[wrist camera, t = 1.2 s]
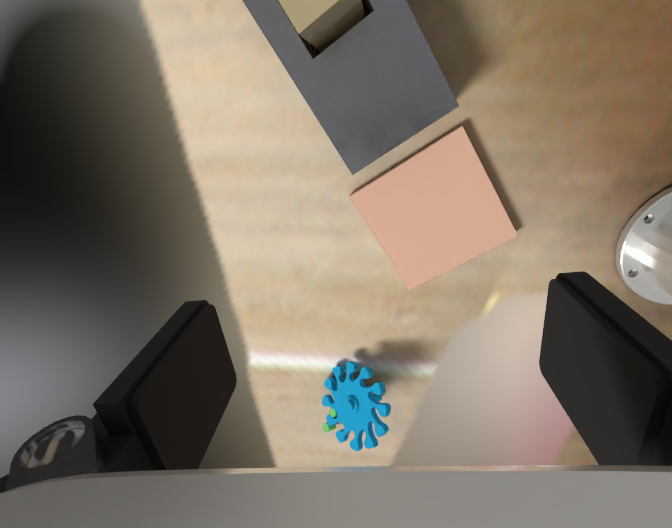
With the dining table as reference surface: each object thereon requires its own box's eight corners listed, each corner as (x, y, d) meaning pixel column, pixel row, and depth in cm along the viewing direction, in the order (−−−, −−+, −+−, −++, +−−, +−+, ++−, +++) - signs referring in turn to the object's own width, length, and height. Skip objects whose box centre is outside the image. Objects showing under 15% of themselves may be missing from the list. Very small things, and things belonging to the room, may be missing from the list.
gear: (357, 347, 42) (398, 433, 37) (387, 343, 46) (427, 420, 42) (304, 388, 48) (334, 468, 43) (334, 381, 52) (365, 453, 47)
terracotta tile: (460, 125, 33) (462, 125, 32) (515, 232, 36) (517, 235, 35) (349, 195, 36) (348, 197, 36) (408, 286, 40) (408, 289, 39)
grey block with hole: (339, -114, 27) (332, -148, 23) (450, 105, 32) (459, 105, 28) (240, -19, 30) (220, -35, 26) (355, 167, 35) (352, 174, 32)
